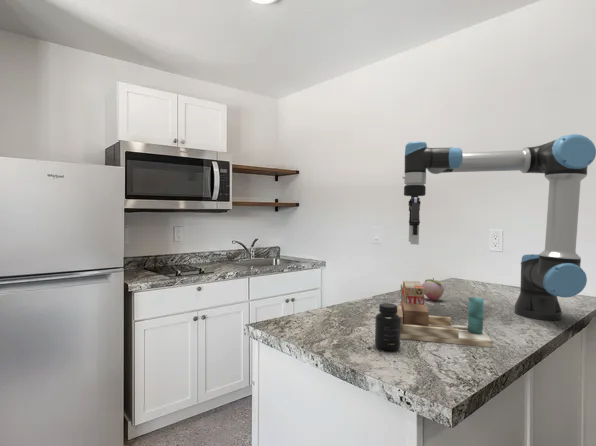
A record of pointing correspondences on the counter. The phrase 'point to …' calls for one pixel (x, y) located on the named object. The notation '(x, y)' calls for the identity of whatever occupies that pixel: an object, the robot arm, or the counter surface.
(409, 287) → the stack of blocks
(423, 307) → the brown teal long piece
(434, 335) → the lane board
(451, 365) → the counter surface
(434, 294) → the decorative fruit
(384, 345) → the supplement bottle
